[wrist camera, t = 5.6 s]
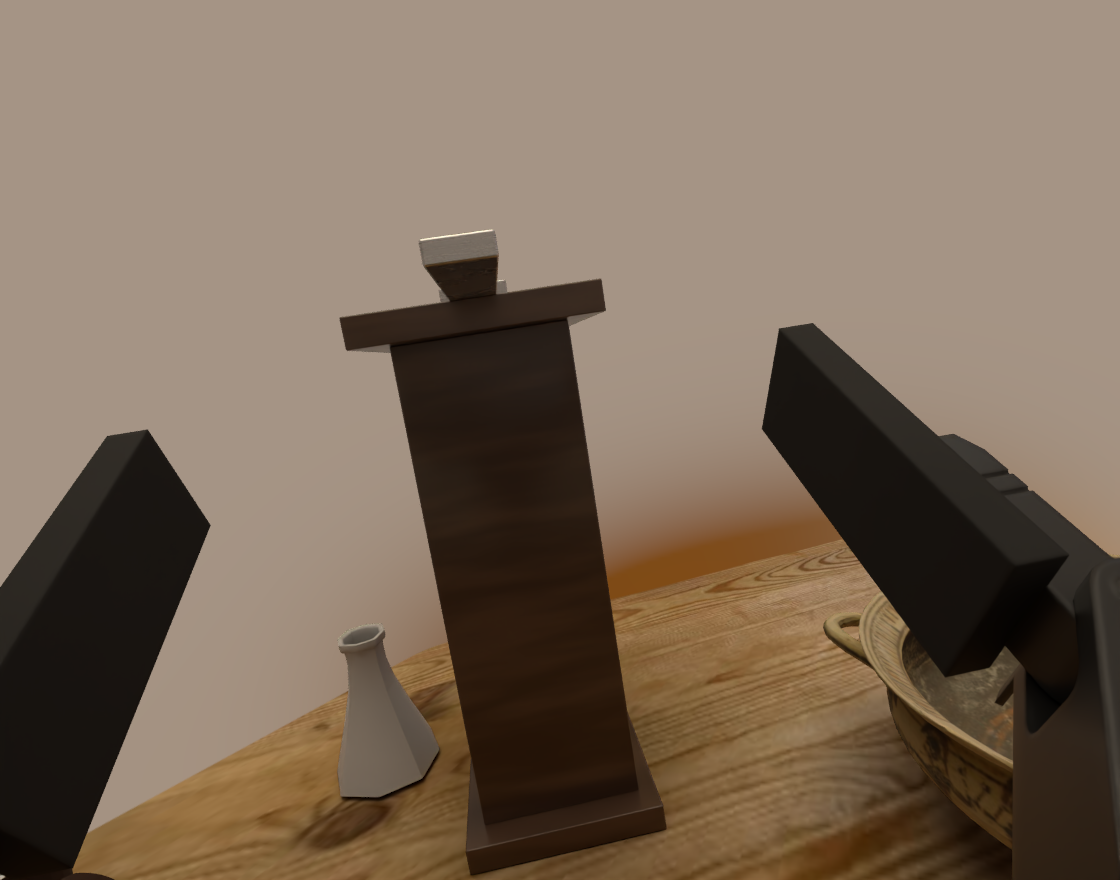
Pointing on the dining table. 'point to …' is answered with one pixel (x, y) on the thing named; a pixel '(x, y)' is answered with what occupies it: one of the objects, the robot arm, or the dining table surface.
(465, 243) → the fork
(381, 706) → the flask
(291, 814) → the dining table surface
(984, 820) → the ceramic bowl
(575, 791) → the stand
